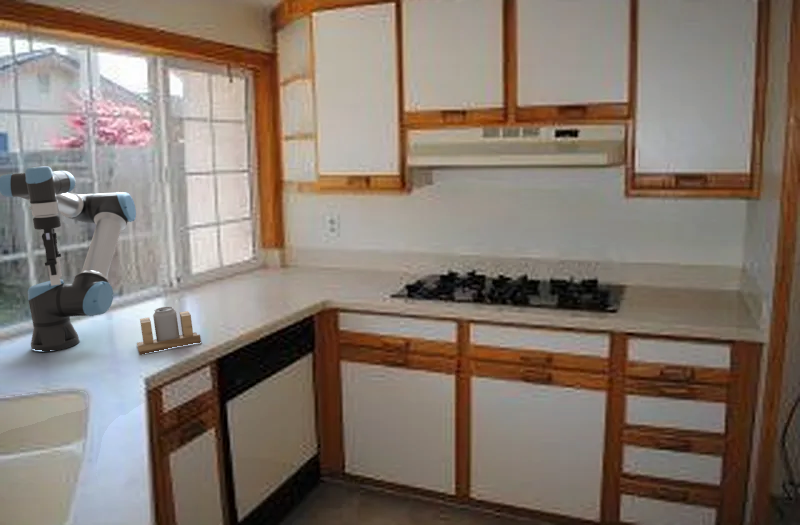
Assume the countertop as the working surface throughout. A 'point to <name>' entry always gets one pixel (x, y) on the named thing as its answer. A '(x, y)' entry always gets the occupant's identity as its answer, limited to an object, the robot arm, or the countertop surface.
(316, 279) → the countertop surface
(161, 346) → the wooden u-shaped stand
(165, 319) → the can
